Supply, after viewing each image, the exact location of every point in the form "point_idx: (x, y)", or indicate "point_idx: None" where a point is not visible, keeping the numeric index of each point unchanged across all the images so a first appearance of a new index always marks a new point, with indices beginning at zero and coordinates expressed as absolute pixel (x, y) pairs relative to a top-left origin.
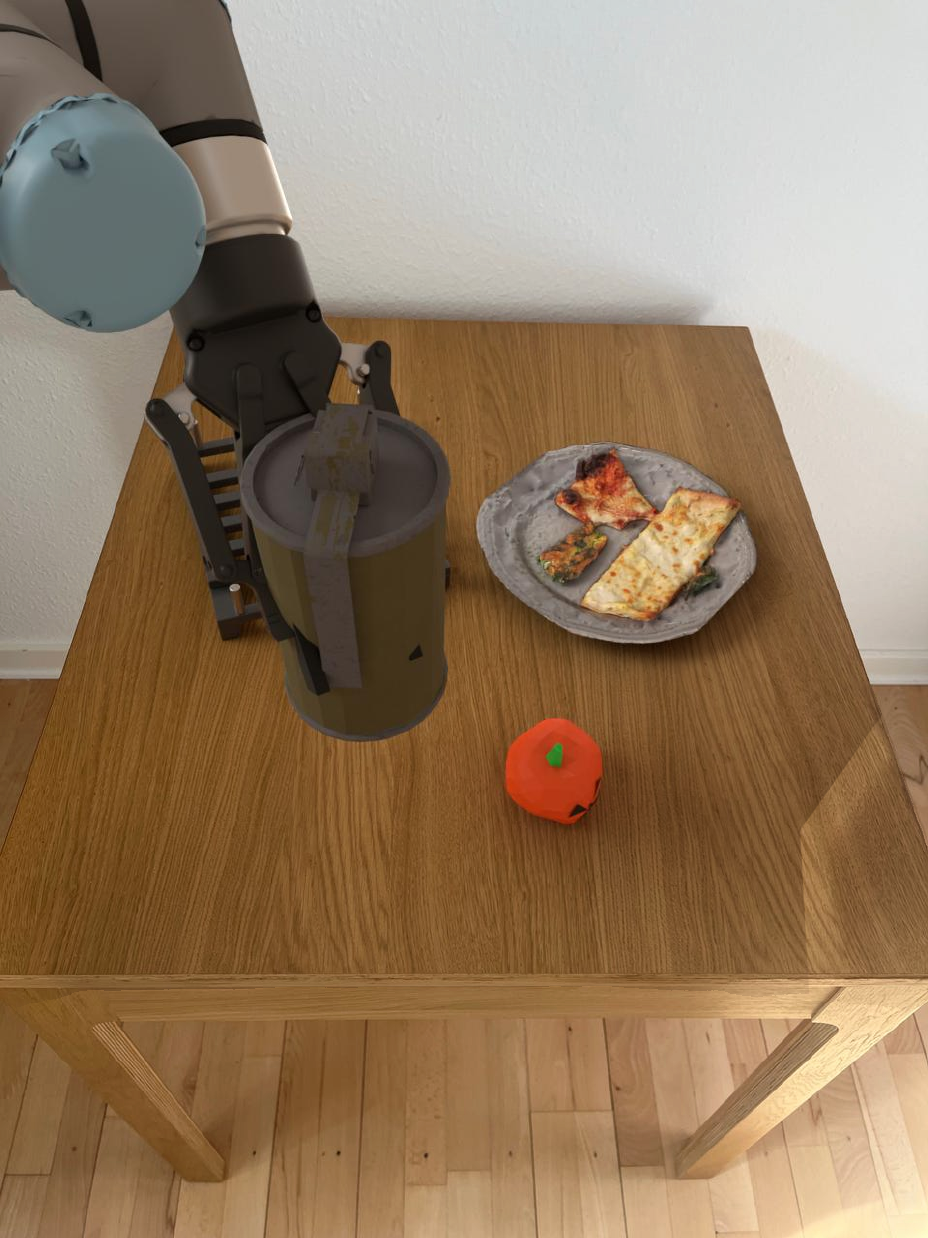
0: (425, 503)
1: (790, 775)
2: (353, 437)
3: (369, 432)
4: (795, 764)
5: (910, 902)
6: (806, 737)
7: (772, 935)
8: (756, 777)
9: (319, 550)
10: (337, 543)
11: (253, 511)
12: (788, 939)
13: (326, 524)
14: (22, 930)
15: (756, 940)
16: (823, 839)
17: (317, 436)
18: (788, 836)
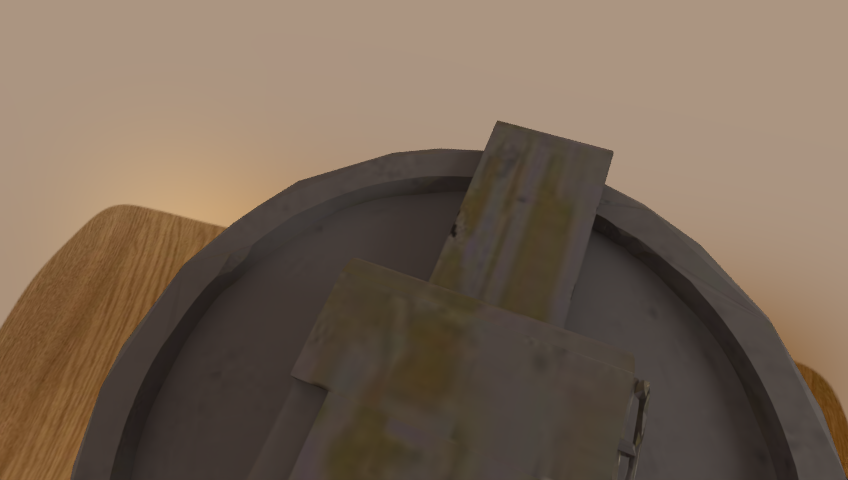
0: (237, 297)
1: (68, 369)
2: (376, 387)
3: (287, 430)
4: (55, 379)
5: (73, 242)
6: (21, 405)
7: (186, 243)
8: (98, 376)
9: (569, 140)
10: (517, 153)
11: (780, 350)
12: (177, 238)
13: (540, 220)
14: (830, 405)
15: (199, 243)
16: (91, 304)
17: (560, 447)
18: (115, 314)
